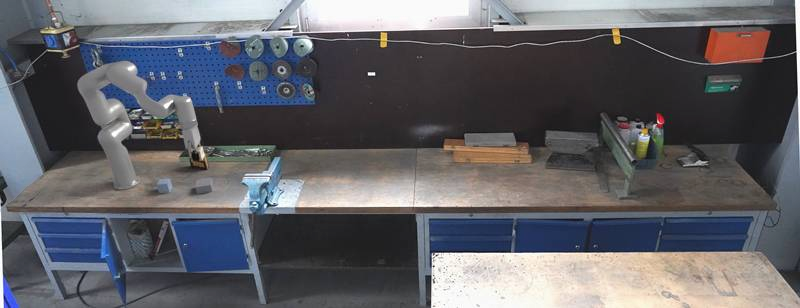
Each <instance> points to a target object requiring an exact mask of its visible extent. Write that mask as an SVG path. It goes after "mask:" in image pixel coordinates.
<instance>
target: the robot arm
mask: <svg viewBox="0 0 800 308" xmlns="http://www.w3.org/2000/svg"><path fill="white" fill-rule="evenodd" d="M137 74H138V68H137V66H136V65H135V64H134V63H132V62H131V61H128V60H121V61H116V62H110V63H105V64H103V65H100V66H99V67H97V68H95V69H92V70H90V71H88V72H87V73H85V74H83V75H82V76H80V78H79V79H78V81H77V83H76V84H77V90H78V92H79V94H80V95H81V97H82V98H83V100H84V103H85V104H86V106H87V108H88V111H89V113H90V115H91V118H92V120H93V121H94V123H95V124H96V125H97V126H99V127H103V128H102V129H101V130H100V131H99V132H98V134H97V140H98V143H99V144H100V146H101V147H102V150H103V151H104V154H105V156H106V159H107V160H108V161H107V162H108V164H109V166H110V170H111V172H112V176H107V178H106V180H107V183H112V184H113V185H112V186H113V188H114V189H116V190H118V191H119V190H121V191H122V190H123V191H124V190H128V189H132V188H134V187H136V186H137V185H138V184H140V182H141V177H140V176H139V175H136V172H135V169H134V166H133V163H132V160H131V156H130V154H129V152H128V149H127V147H126V146H125V145H123V143H122V141H124V140H125V139H126V138H128V137H129V136H130V135H132V133H133V125H132V122H131V120H130V117H129V115H128V113H127V110H126V107H125V105H124V104H123V102H121V101H120V100H118V99H117V98H108V99H107V98H106V95H105V94H104V92H103V91H101V89H103V88H105V87H106V86H108V85H110V84H112V85H113V86H115V87H117V88H119V89H121V90H123V91H124V92H126V93H128V94H130V95H132V96H134V97H135V99H136V102H137V104H138V105H139V107H140V108H141V109H142V110H143V111H144V112H146V113H147V114H149V115H152V116H153V117H156V118H157V119H167V118H168V117H169V116H170V115H172V114H173V113H176V115H177V119H178V123H179V125H180V129H181V132H182V137H183V142H184V147H185V149H186V150H188V148H189V152H190V154H191V156H192V160H193V161H199V160H200V158H199V154H198V153H197V148H196V147H202V145H201V134H200V131H199V128H198V124H199V123H198V120H197V116H196V111H195V108H194V104H193V101H192V99H191V97H190V96H188V95H183V96H181V95H176V94H167V95H166V96H164V97H162V98H161V99H160V100H158V101H155V100H154V99H153V98H151V97H150V96H148V94H147V93H146V91H147V88H148V87H147V86H148V82H147V81H146V80H145V79H144V78H141V77H139V76H137ZM104 126H105V127H104ZM193 149H195V150H193Z"/></svg>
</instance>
